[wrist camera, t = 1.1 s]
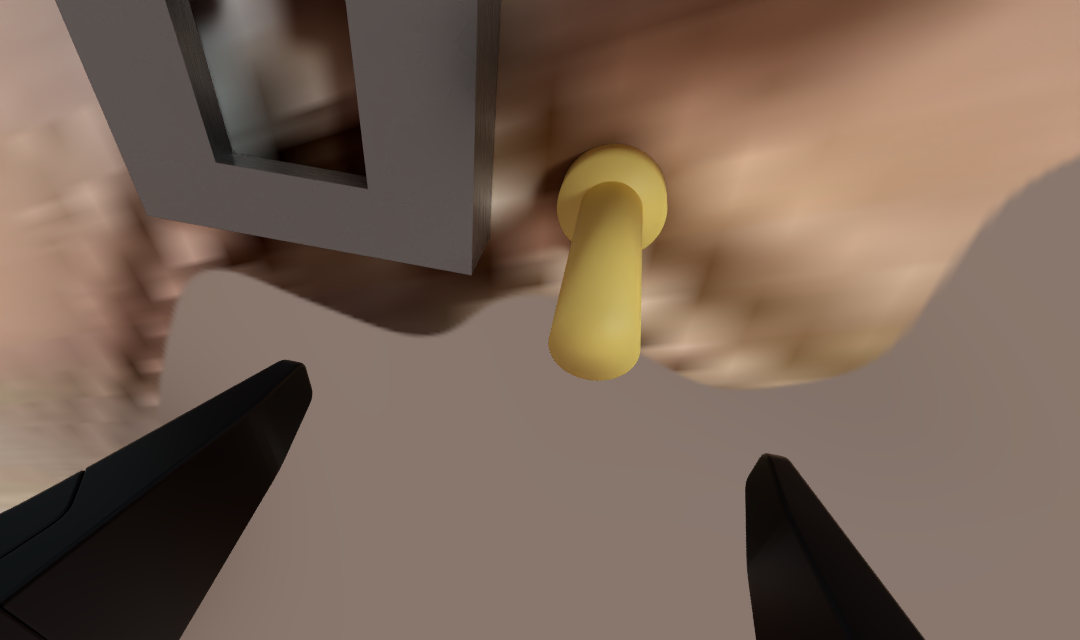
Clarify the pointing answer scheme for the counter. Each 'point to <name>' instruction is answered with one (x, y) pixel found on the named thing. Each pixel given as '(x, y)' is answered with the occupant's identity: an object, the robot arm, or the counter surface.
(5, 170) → the counter surface
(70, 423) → the counter surface
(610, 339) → the headed peg
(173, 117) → the keyhole plate
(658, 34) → the counter surface
